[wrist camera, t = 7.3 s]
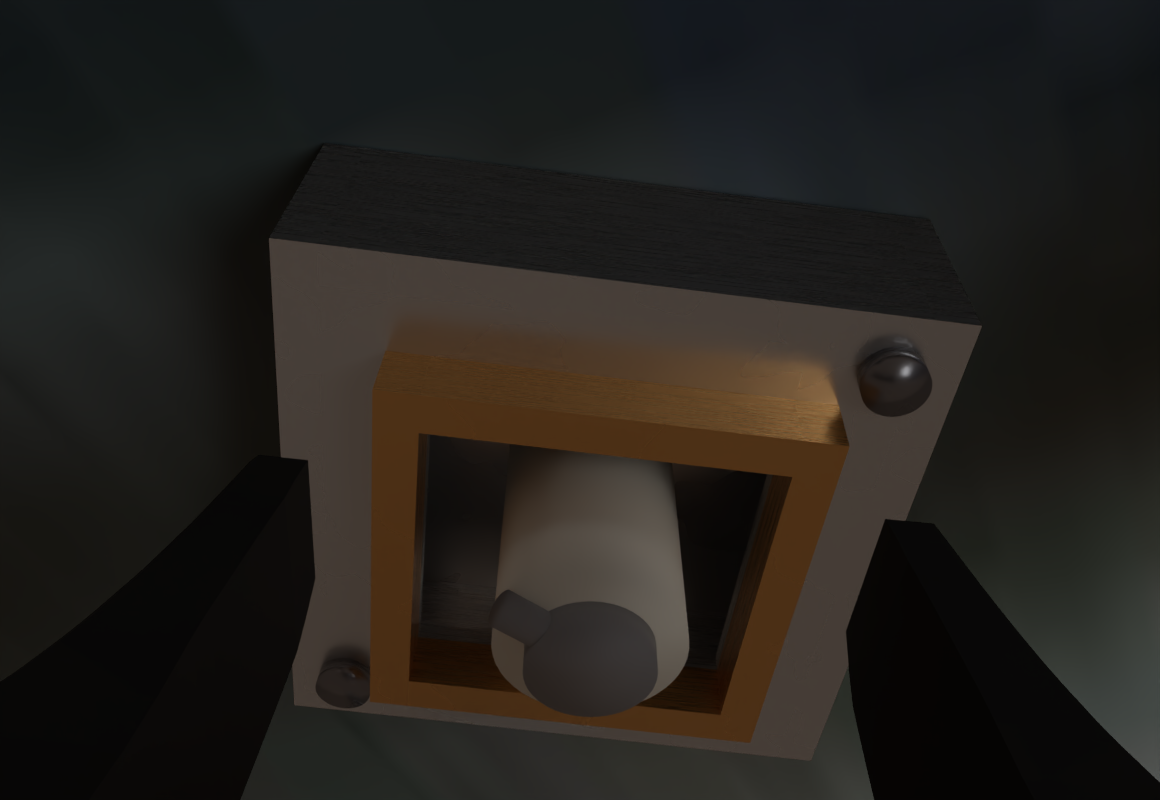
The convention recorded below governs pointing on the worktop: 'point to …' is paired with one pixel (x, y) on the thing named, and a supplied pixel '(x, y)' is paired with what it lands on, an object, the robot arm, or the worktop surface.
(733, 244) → the housing
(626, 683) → the canister
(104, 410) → the worktop surface
